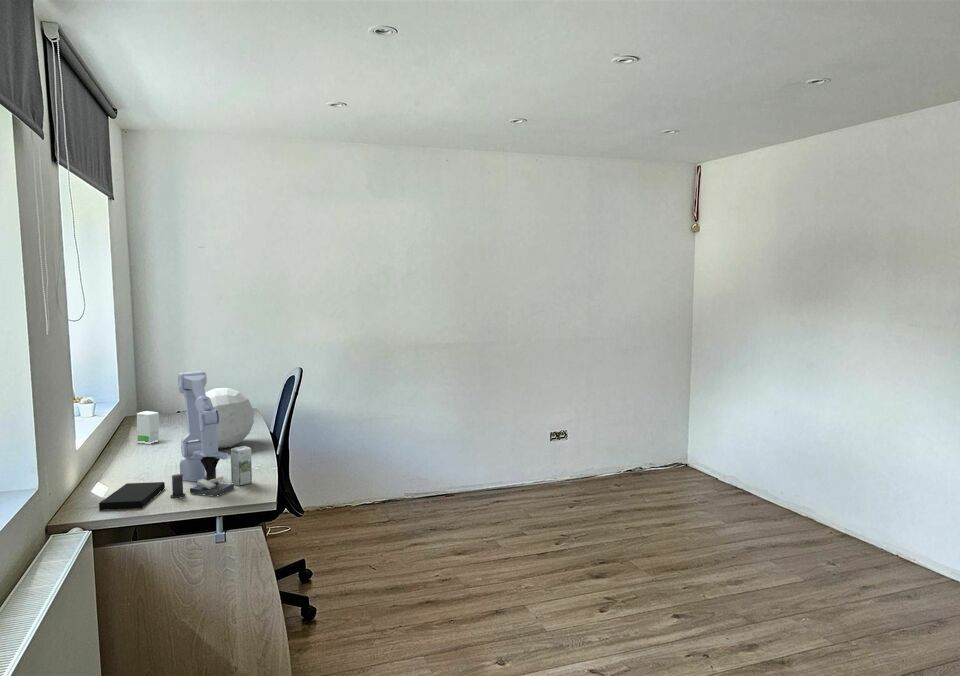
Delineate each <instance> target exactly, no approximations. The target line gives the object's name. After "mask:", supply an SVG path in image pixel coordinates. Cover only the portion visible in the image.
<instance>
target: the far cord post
mask: <svg viewBox="0 0 960 676" xmlns="http://www.w3.org/2000/svg"><path fill="white" fill-rule="evenodd" d="M216 478H217V468H216V469H215V473H214V476H212V477H208V476H207V473H206V478H205V480H207V481H209V480H212V479H216Z"/></svg>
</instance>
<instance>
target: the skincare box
mask: <svg viewBox="0 0 960 676" xmlns="http://www.w3.org/2000/svg"><path fill="white" fill-rule="evenodd" d="M159 415H160V413H159V412H156V411H149V410H145V411H141V412H137V413H136V442H137V441H145V442H152V441H155V440H158V439H159V440H160V437H159V436H160V435H159V432H160V430H159V429H160V425H159V424H160V421H159V419H160V416H159Z"/></svg>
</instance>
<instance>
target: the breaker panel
mask: <svg viewBox="0 0 960 676" xmlns="http://www.w3.org/2000/svg"><path fill="white" fill-rule="evenodd" d="M214 484H216V486H215V487H213V488H211V489H208V488H206V487H204V486H201V485H199V484H197V485H195V486H193V487H191V488H189V494H190V493H194V494H193V495H197V494H205V495H213V496H212V497H214V496H217V495H219V496H221V495H224V494H226V493H228V492H230V490H231V491H233V490H235V484H232V483H229V482H220V481H218V482H214ZM232 489H233V490H232ZM227 491H228V492H227ZM225 492H226V493H225ZM223 493H224V494H223ZM220 494H221V495H220ZM205 495H204V496H205ZM217 497H218V496H217Z"/></svg>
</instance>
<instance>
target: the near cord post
mask: <svg viewBox="0 0 960 676" xmlns="http://www.w3.org/2000/svg"><path fill="white" fill-rule="evenodd" d="M171 486H172V494H170V495H169V496H170V497H171V498H170V499H172V498H178V499H181V498H180V497H183V498H185V497H186V496H187V495H186V494H187V493H185V492H184V480H183V475H182V474H180V473H177V474H173V475H171ZM185 495H186V496H185ZM184 496H185V497H184Z"/></svg>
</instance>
